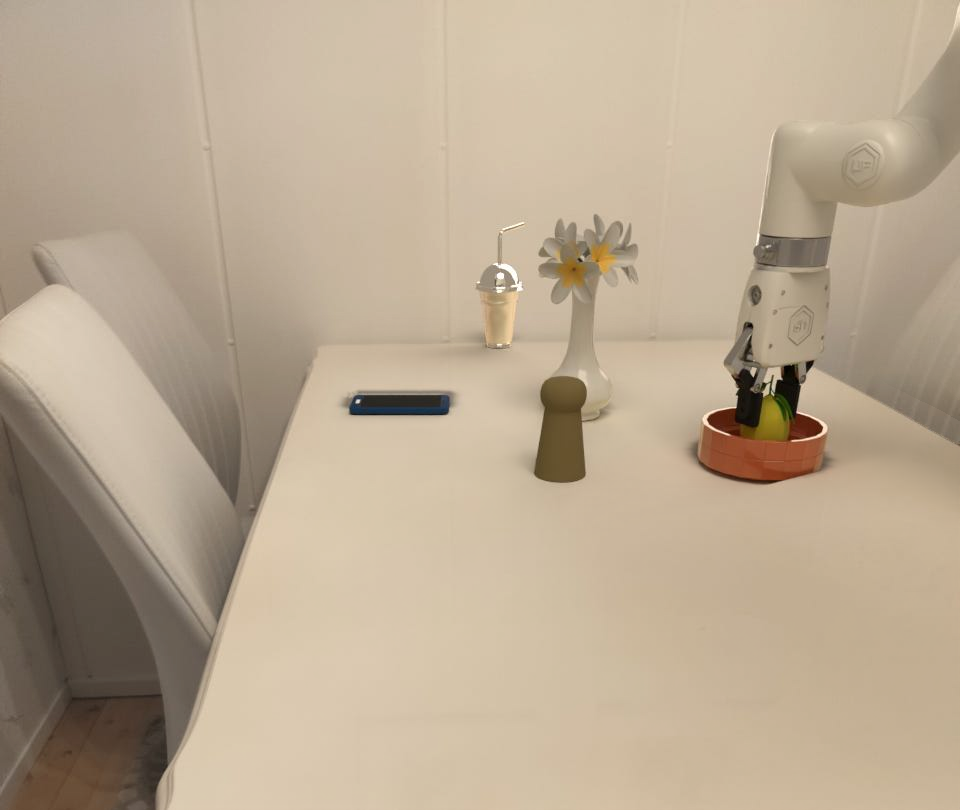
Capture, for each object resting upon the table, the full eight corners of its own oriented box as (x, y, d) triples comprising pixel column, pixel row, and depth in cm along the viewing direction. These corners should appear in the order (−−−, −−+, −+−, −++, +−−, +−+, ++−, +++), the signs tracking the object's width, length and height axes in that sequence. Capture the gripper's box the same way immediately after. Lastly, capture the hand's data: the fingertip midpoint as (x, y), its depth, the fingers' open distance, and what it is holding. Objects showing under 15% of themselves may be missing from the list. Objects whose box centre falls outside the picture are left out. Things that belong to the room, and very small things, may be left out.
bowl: (755, 439, 118) (761, 400, 116) (845, 470, 108) (854, 428, 105) (672, 458, 112) (677, 417, 109) (760, 493, 101) (767, 449, 99)
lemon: (728, 450, 112) (738, 367, 107) (776, 450, 112) (789, 367, 107) (739, 468, 107) (751, 382, 102) (790, 468, 106) (804, 382, 101)
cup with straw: (471, 341, 168) (470, 222, 158) (519, 339, 169) (522, 221, 159) (479, 351, 161) (479, 227, 151) (530, 349, 162) (533, 226, 152)
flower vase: (526, 434, 120) (531, 225, 107) (539, 396, 135) (545, 210, 123) (626, 439, 118) (644, 227, 105) (628, 400, 134) (643, 212, 121)
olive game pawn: (556, 486, 103) (561, 387, 98) (523, 471, 107) (525, 376, 102) (596, 475, 106) (603, 379, 101) (562, 461, 110) (567, 368, 105)
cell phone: (354, 399, 133) (354, 394, 133) (449, 399, 134) (449, 394, 133) (348, 414, 127) (348, 408, 127) (448, 414, 127) (448, 408, 127)
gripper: (761, 263, 91) (735, 441, 100) (873, 251, 99) (840, 417, 108) (707, 255, 97) (688, 423, 106) (817, 244, 105) (790, 402, 114)
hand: (765, 418), depth 107 cm, fingers closed on lemon, 5 cm apart
